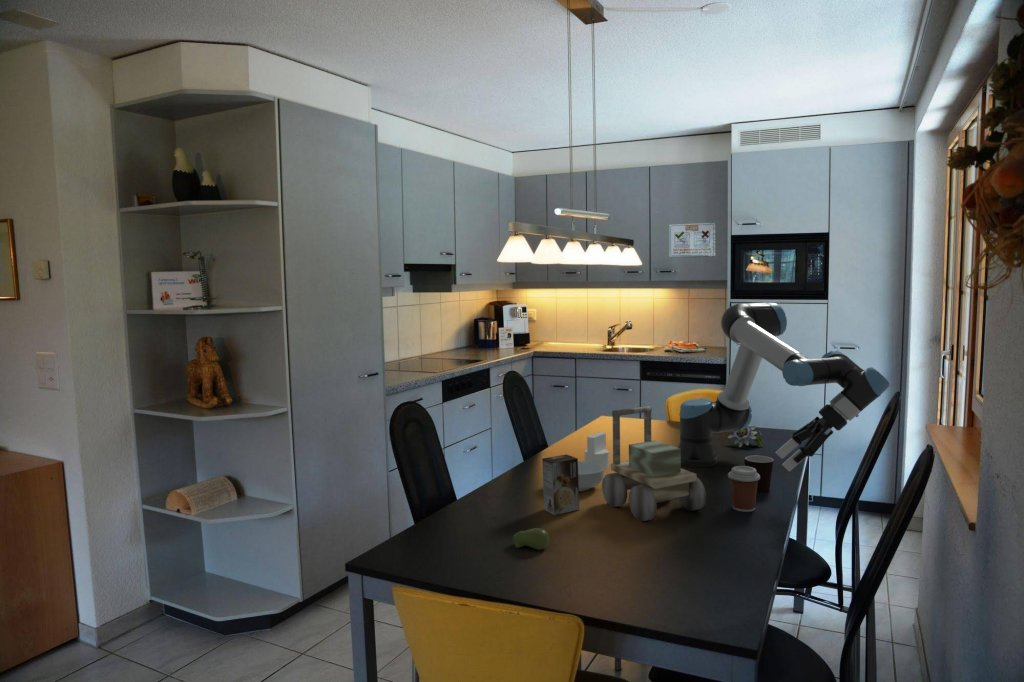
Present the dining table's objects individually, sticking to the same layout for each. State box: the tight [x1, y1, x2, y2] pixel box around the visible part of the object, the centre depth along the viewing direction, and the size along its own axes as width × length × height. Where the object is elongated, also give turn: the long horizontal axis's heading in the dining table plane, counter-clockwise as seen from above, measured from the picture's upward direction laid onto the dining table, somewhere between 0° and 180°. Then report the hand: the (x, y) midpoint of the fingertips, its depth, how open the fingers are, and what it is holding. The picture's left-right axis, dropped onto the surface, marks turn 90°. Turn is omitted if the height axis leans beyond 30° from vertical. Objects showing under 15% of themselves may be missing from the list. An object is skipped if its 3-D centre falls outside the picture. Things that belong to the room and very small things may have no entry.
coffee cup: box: [727, 465, 760, 513], centre depth 200 cm, size 9×9×12 cm
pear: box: [512, 527, 550, 551], centre depth 175 cm, size 6×5×10 cm
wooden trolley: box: [601, 405, 707, 522], centre depth 202 cm, size 24×21×29 cm
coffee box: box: [541, 454, 580, 516], centre depth 202 cm, size 9×6×16 cm
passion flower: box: [726, 425, 764, 448], centre depth 274 cm, size 11×11×12 cm
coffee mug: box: [743, 454, 774, 493], centre depth 219 cm, size 12×9×10 cm
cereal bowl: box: [578, 460, 605, 492], centre depth 224 cm, size 17×17×7 cm
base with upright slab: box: [584, 431, 610, 470], centre depth 248 cm, size 9×9×12 cm
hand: (781, 461), depth 197 cm, fingers open, 13 cm apart
